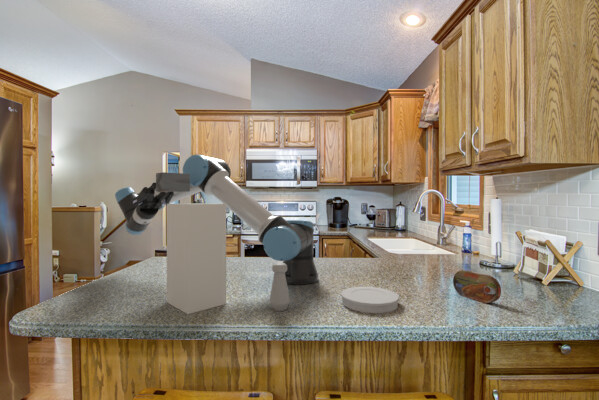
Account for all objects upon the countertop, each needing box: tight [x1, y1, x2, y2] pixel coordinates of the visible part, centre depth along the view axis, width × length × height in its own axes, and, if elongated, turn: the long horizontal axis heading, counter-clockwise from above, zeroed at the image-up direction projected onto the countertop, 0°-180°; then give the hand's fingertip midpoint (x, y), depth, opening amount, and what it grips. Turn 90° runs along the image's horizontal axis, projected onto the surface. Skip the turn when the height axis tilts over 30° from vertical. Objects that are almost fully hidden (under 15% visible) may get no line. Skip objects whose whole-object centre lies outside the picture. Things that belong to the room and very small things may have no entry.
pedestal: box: [166, 202, 227, 315], centre depth 94 cm, size 14×12×30 cm
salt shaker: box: [269, 262, 291, 312], centre depth 90 cm, size 6×6×13 cm
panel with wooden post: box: [154, 171, 190, 192], centre depth 110 cm, size 18×9×6 cm, turn 45°
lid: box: [340, 286, 400, 314], centre depth 96 cm, size 17×20×3 cm
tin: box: [452, 269, 502, 304], centre depth 99 cm, size 15×3×8 cm, turn 23°
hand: (166, 179), depth 110 cm, fingers closed on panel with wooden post, 3 cm apart
